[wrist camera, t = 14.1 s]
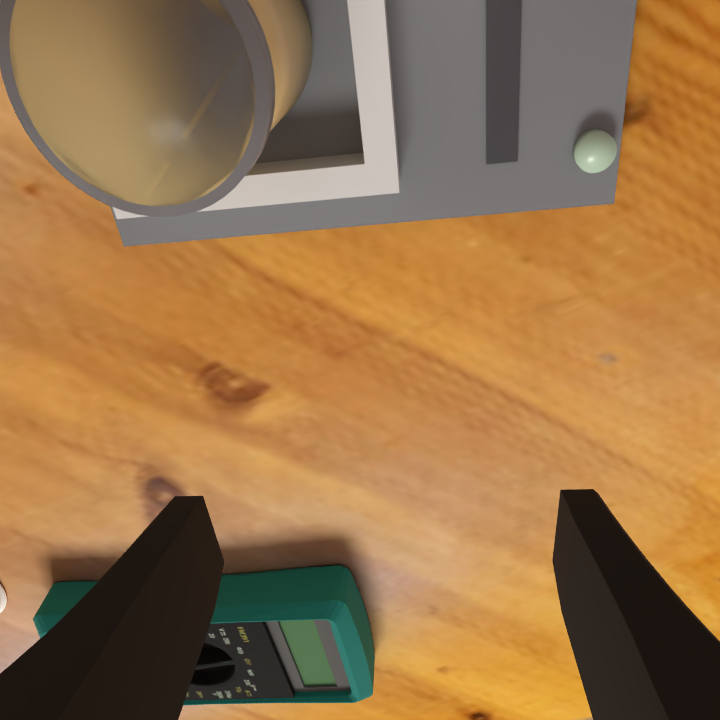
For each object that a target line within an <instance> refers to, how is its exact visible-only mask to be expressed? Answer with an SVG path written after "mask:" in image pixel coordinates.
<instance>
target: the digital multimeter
mask: <svg viewBox="0 0 720 720" xmlns="http://www.w3.org/2000/svg"><path fill="white" fill-rule="evenodd" d="M97 582H98V581H69V582H58V583H54V584H53V586H52V587H51V589H50V591H49V592H48V594H47V596H46V598H45V599H44V601H43V603H42V604H41V606H40V608H39V609H38V611H37V613H36V615H35V616H34V618H33V620H34V623H35V626H36V628H37V631H38V634H39V636H40V639H41V638H42V637H43V636H44V635H45V634H46V633H47V632H48V631H49V630H50V629H51V628H52V627H53V626H54V625H56V624H57V623H58V622H59V621H60V620H61V619H62V618H63V617H64V616H65V615H66V614H67V613H68V612H69V611H70V610H71V609H72V608H73V607H74V606H75V605H76V604H77V603H78V602H79V601H80V600H81V599H82V598H83V597H84V596H85V595H86V594H87V593H88V592H89V591H90V590H91V589H92V587H93V586H94V585H95V584H96V583H97ZM374 661H375V656H374V648H373V640H372V635H371V629H370V624H369V620H368V617H367V613H366V609H365V606H364V603H363V601H362V598H361V595H360V593H359V590H358V588H357V585H356V583H355V581H354V578H353V576H352V574H351V572H350V571H349V569H347V568H346V567H344V566H340V565H336V566H320V567H304V568H294V569H283V570H273V571H263V572H253V573H239V574H223V575H222V576H221V582H220V587H219V592H218V596H217V601H216V605H215V610H214V613H213V616H212V620H211V623H210V626H209V629H208V632H207V635H206V638H205V641H204V644H203V647H202V650H201V653H200V656H199V659H198V662H197V665H196V668H195V671H194V674H193V677H192V680H191V683H190V686H189V689H188V692H187V695H186V698H185V701H184V704H183V705H203V704H247V703H354V702H358V701H360V700H363V699H365V698H368V697H370V696H371V695H372V694H373V681H374Z"/></svg>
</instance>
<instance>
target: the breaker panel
mask: <svg viewBox="0 0 720 720" xmlns="http://www.w3.org/2000/svg"><path fill="white" fill-rule="evenodd" d="M301 2H302V4H303V6H304V9H305V11H306V14H307V17H308V20H309V24H310V29H311V35H312V46H313V52H312V64H311V70H310V74H309V77H308V81H307V84H306V86H305V88H304V90H303V92H302V94H301V96H300V97H299V99H298V101H297V102H296V103H295V104H294V106H293V107H292V108H291V109H290V110H289V111H288V113H287V114H286V115H285V116H284V117H283V118H282V119H281V120H280V121H279V122H278V123H277V125H276V126H275V127H274V128H273V129H272V130H271V131H270V133H269V136H268V139H267V142H266V144H265V146H264V148H263V151H262V153H261V155H260V156H259V158H258V159H257V161H256V163H255V164H254V166H253V167H252V168H251V170H250V171H249V172H248V173H247V174H246V175H245V177H244V178H243V179H242V180H241V181H240V183H239V184H238V185H237V186H236V187H235V188H234V189H233V190H232V191H231V192H230V193H228V194H227V195H226V196H225V197H224V198H222V199H221V200H219V201H217V202H216V203H214V204H213V205H211V206H209V207H206V208H204V209H202V210H200V211H197V212H193V213H190V214H186V215H180V216H173V217H151V216H144V215H137V214H133V213H130V212H126V211H122V210H120V209H117V208H114V207H112V206H110V207H111V210H112V213H113V215H114V218H115V221H116V224H117V227H118V230H119V233H120V236H121V239H122V242H123V245H124V246H135V245H147V244H158V243H170V242H181V241H192V240H204V239H215V238H227V237H238V236H250V235H261V234H272V233H284V232H295V231H307V230H318V229H330V228H341V227H352V226H364V225H375V224H387V223H398V222H410V221H421V220H432V219H444V218H455V217H467V216H478V215H489V214H501V213H512V212H524V211H535V210H547V209H558V208H569V207H581V206H592V205H604V204H614V200H615V191H616V182H617V173H618V164H619V155H620V146H621V138H622V129H623V120H624V111H625V102H626V93H627V84H628V75H629V67H630V58H631V49H632V40H633V31H634V22H635V13H636V4H637V0H301Z"/></svg>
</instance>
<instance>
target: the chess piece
mask: <svg viewBox="0 0 720 720" xmlns="http://www.w3.org/2000/svg"><path fill="white" fill-rule="evenodd" d="M6 603H7V596H6V593H5V590H4V589H3V587H2V585H1V584H0V613H1V612H2V611H3V610H4V608H5V606H6Z"/></svg>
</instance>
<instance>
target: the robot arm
mask: <svg viewBox="0 0 720 720" xmlns="http://www.w3.org/2000/svg"><path fill="white" fill-rule="evenodd" d="M223 566H224V559H223V556H222V553H221V550H220V547H219V544H218V541H217V538H216V535H215V532H214V528H213V525H212V522H211V519H210V516H209V513H208V510H207V507H206V504H205V501H204V497H203V496H175V497H174V498H173V499H172V500H171V501H170V502H169V503H168V505H167V506H166V507H165V508H164V509H163V510H162V511H161V512H160V513H159V515H158V516H157V517H156V518H155V519H154V520H153V521H152V522H151V524H150V525H149V526H148V527H147V528H146V529H145V530H144V532H143V533H142V534H141V535H140V536H139V537H138V538H137V539H136V541H135V542H134V543H133V544H132V545H131V546H130V547H129V548H128V550H127V551H126V552H125V553H124V554H123V555H122V556H121V557H120V558H119V559H118V561H117V562H116V563H115V564H114V565H113V566H112V567H111V568H110V569H109V570H108V571H107V573H106V574H105V575H104V576H103V577H102V578H101V579H100V580H99V581H98V582H97V583H96V584H95V585H94V586H93V587H92V589H91V590H90V591H89V592H88V593H87V594H86V595H85V596H84V597H83V598H82V599H81V600H80V601H79V602H78V603H77V604H76V605H75V606H74V607H73V608H72V609H71V610H70V611H69V612H68V613H67V614H66V615H65V616H64V617H63V618H62V619H61V620H60V621H59V622H58V623H57V624H56V625H54V626H53V627H52V628H51V629H50V630H49V631H48V632H47V633H46V634H45V635H44V636H43V637H42V638H41V639H40V640H38V641H37V642H36V643H35V644H34V645H33V646H32V647H31V648H29V649H28V650H27V651H26V652H25V653H24V654H23V655H21V656H20V657H19V658H18V659H17V660H16V661H15V662H13V663H12V664H11V665H10V666H9V667H8V668H6V669H5V670H4V671H3V672H2V673H0V720H178V718H179V715H180V713H181V710H182V707H183V704H184V701H185V698H186V695H187V692H188V689H189V686H190V683H191V680H192V677H193V674H194V671H195V668H196V665H197V662H198V659H199V656H200V653H201V650H202V647H203V644H204V641H205V638H206V635H207V632H208V629H209V626H210V623H211V620H212V616H213V613H214V610H215V605H216V601H217V596H218V592H219V587H220V582H221V576H222V571H223ZM553 566H554V572H555V577H556V583H557V589H558V594H559V600H560V605H561V611H562V614H563V618H564V622H565V625H566V628H567V632H568V635H569V639H570V642H571V646H572V649H573V652H574V656H575V659H576V663H577V666H578V669H579V673H580V676H581V679H582V683H583V686H584V690H585V693H586V696H587V700H588V703H589V706H590V710H591V713H592V717H593V720H720V641H719V640H718V639H717V638H716V637H715V636H714V635H713V634H712V633H711V632H710V631H709V630H708V629H707V628H706V627H705V625H704V624H703V623H702V622H701V621H700V620H699V619H698V618H697V617H696V616H695V615H694V614H693V612H692V611H691V610H690V609H689V608H688V607H687V606H686V605H685V604H684V602H683V601H682V600H681V599H680V598H679V597H678V596H677V594H676V593H675V592H674V591H673V590H672V589H671V588H670V586H669V585H668V584H667V583H666V582H665V580H664V579H663V578H662V577H661V576H660V574H659V573H658V572H657V571H656V570H655V568H654V567H653V566H652V565H651V564H650V562H649V561H648V560H647V559H646V557H645V556H644V555H643V554H642V552H641V551H640V550H639V549H638V547H637V546H636V545H635V543H634V542H633V541H632V539H631V538H630V537H629V536H628V534H627V533H626V532H625V530H624V529H623V528H622V526H621V525H620V524H619V522H618V521H617V520H616V518H615V517H614V515H613V514H612V513H611V511H610V510H609V508H608V507H607V506H606V504H605V503H604V501H603V500H602V498H601V497H600V495H599V494H598V493H597V492H596V491H595V490H593V489H580V490H561V491H560V499H559V508H558V517H557V526H556V535H555V543H554V552H553Z"/></svg>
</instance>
